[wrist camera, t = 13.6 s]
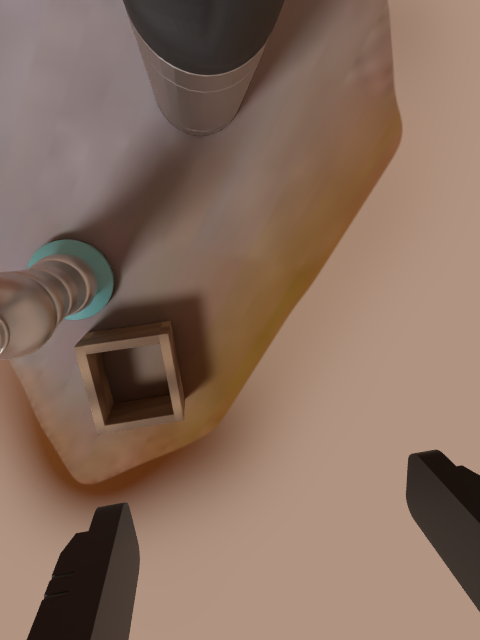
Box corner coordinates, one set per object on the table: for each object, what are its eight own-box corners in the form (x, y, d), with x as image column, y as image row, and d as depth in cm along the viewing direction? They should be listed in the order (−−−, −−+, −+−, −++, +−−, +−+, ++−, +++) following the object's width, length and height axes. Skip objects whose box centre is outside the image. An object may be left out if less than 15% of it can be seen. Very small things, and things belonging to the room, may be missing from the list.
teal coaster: (21, 244, 39) (16, 245, 37) (104, 234, 39) (102, 235, 38) (44, 321, 41) (39, 324, 40) (121, 311, 42) (119, 313, 41)
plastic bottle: (29, 259, 38) (-135, 305, 19) (91, 244, 38) (-10, 274, 19) (53, 314, 40) (-74, 406, 21) (111, 299, 40) (38, 376, 21)
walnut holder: (87, 332, 42) (73, 347, 38) (170, 320, 43) (167, 333, 38) (107, 411, 46) (97, 434, 41) (184, 399, 46) (183, 420, 42)
